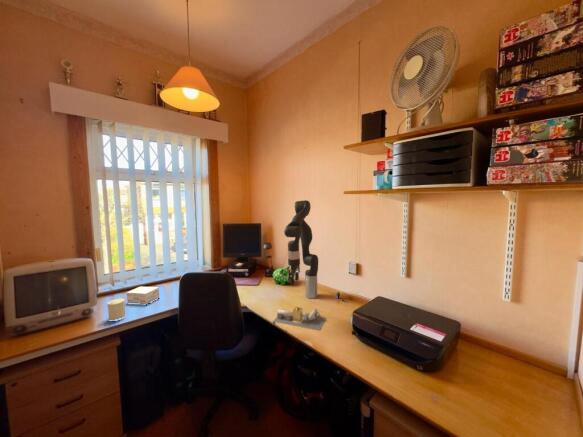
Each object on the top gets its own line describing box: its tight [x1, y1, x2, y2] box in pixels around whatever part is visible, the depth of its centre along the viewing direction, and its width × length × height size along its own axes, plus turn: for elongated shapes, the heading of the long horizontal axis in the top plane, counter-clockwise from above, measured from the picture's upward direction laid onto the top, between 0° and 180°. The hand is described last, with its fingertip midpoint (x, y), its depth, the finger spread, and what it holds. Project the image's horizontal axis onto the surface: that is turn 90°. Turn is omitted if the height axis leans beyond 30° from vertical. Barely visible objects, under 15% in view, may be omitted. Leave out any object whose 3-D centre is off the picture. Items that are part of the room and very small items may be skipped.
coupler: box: [292, 306, 304, 322], centre depth 147 cm, size 4×4×8 cm
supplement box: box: [126, 286, 160, 304], centre depth 183 cm, size 17×13×9 cm
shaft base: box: [272, 308, 328, 332], centre depth 148 cm, size 16×30×6 cm, turn 68°
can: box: [107, 298, 127, 321], centre depth 156 cm, size 9×9×12 cm
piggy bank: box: [272, 265, 291, 286], centre depth 216 cm, size 14×18×15 cm
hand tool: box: [351, 328, 357, 337], centre depth 139 cm, size 19×4×5 cm, turn 154°
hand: (294, 282), depth 153 cm, fingers open, 8 cm apart
